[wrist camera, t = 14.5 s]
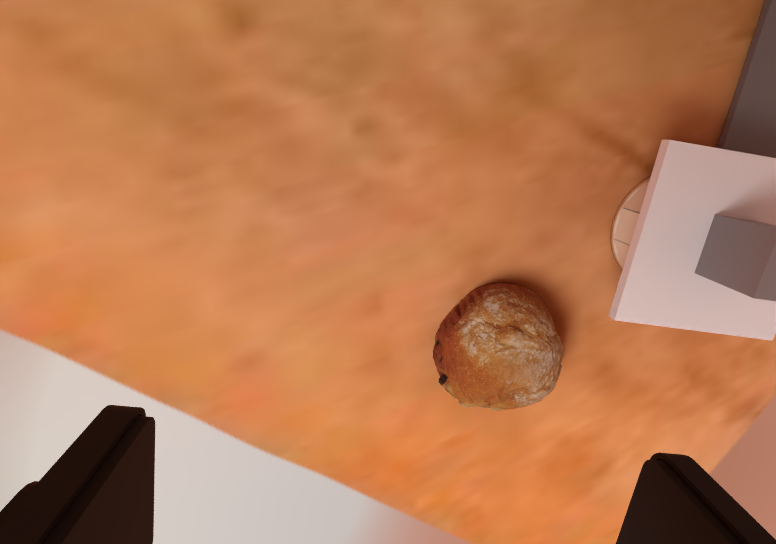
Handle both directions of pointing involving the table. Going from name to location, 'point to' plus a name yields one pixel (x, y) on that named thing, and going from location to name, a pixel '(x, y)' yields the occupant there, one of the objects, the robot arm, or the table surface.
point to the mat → (755, 94)
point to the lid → (704, 244)
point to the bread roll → (498, 348)
